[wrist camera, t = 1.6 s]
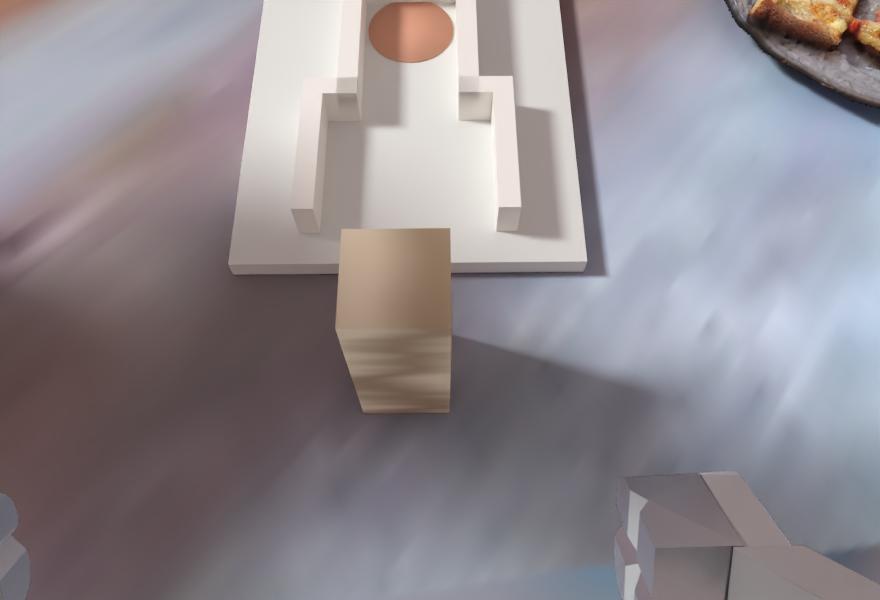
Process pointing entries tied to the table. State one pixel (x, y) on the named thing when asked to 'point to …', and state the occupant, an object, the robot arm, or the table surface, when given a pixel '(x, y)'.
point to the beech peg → (396, 317)
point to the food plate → (820, 40)
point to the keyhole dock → (410, 134)
